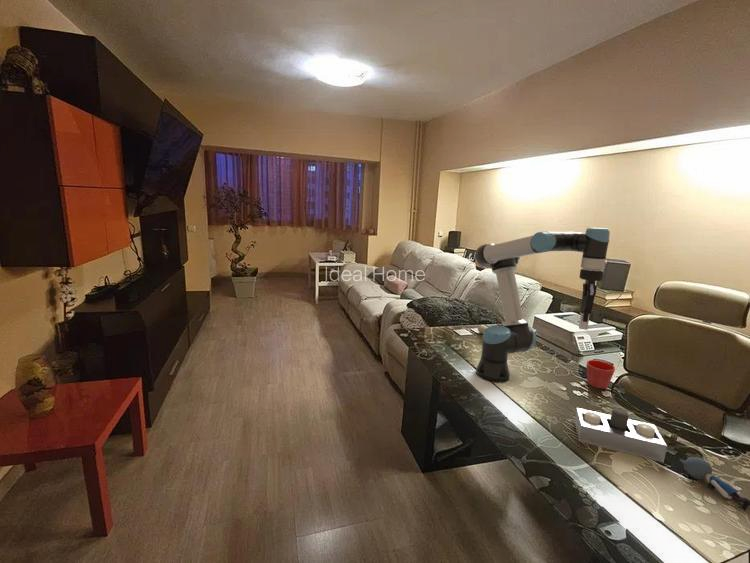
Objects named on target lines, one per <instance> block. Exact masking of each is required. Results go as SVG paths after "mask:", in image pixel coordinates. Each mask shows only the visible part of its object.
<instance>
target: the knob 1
mask: <svg viewBox="0 0 750 563" xmlns="http://www.w3.org/2000/svg"><path fill="white" fill-rule="evenodd" d="M600 420H601V417H600V416H599V415H598V414H596V413H593V412H586V413H585V417H584V422H588V423H592V424H596V425H600Z"/></svg>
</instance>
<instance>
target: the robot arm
mask: <svg viewBox="0 0 750 563" xmlns="http://www.w3.org/2000/svg"><path fill="white" fill-rule="evenodd" d="M610 231H611V230H610V229H609V228H606V227H605V228H604V227H603V228H602V227H588V228H586V231H585V232H578V231H569V230H568V231H567V230H565V231H547V230H546V231H539V232H536V233H534V234H533V235H529V236H525V237H521V238H520V237H519V238H517V239H512V240H509V241H505V242H500V243H486V244H485V243H484V244H482V245H480V246H478V248H477V249H476V250H475V253H474V258H475V259H474V260H475V261H476V263H477V264H478V265H479V266H481V267H484V268H491V271H492V273H493V274H495V277H496V281H497V286H498V290H499V297H500V303H501V306H502V307H501V308H502V312H503V318H504V323H503V324H502V325H491V326H488V327H486V329H485V331H484V333H483V336H482V344H481V345H482V348H481V356H480V359H479V362H478V364H477V366H476V370H475V371H476V372H475V373H476V376H477V377H479V378H480V379H482V380H484V381H486V382H491V383H497V384H498V383H502V384H503V383H506V382H508V381H509V380H510V377H511V376H510V375H511V374H510V373H511V372H510V369H509V365H508V356H509V355H510V354H515V353H521V352H522V353H525V352H527V351H530V350H533V348H534V347H535V345H536V342H537V335H536V331H535V330H534V329H533V328H532V327H531V326H529V322H528V321H527V320H525V319H524V314H523V309H522V305H521V304H522V303H521V300H520V294H519V289H518V284H517V279H516V278H517V277H516V273H515V271H516V270H517V269H518V267H517V265H518V264H519V261H520V259H521V258H520V257H526V256H529V255H535V254H542V253H547V252H548V253H549V252H578V253H582V257H581V263H580V268H581V269H580V270H579V279H581V280H584V281H585V282H583V284H582V295H581V297H582V298H581V305H580V309H581V310H580V311H579V312H580V319H579V325H578V329H580V330H585V331H588V330H589V328H588V327H589V322H590V315H591V314H592V312H593V307H594V301H595V298H596V294H597V285H596V282H601V281H603V279H604V273H605V272H604V270H605V266H606V264H608V261H607V260H606V259H607V253H608V248H609V244H610V234H611V232H610Z"/></svg>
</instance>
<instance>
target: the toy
mask: <svg viewBox="0 0 750 563" xmlns="http://www.w3.org/2000/svg"><path fill="white" fill-rule="evenodd" d="M678 461H679V462H680V463H681V464H683V470H684V471H685V473H686V474H687V475H688V476H690V477H691V478H693V479H695V480H706V481H707V482H706V486H707V488H709V489H711V490H717V491H718V492H719V493H720V495H722V497H724V499H725V498H726V499H727V500H734V501H735V502H738V503H742V506H741V509H742V510H744V511H746V510H747V509H748V508H749V507H750V499H749V498H747V497H742V496H741V495H739V492H740V491H739V490H737V489H736V488H735V487H733V486H732V485H730V484H728V482H725V481H724V480H722V479H720V478H718V477H717V476H715V475H713V468H712V465H711V464H710V462H708V461H707V460H705V459H703V458H701V457H698V456H696V457H695V456H693V457H692V456H691V457H688V458H687V459H685V460H684V459H682V458H680V459H679V460H678Z"/></svg>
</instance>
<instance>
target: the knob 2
mask: <svg viewBox="0 0 750 563" xmlns="http://www.w3.org/2000/svg"><path fill="white" fill-rule="evenodd" d="M636 433H637V434H639V435H644V436H648V437H652V438H654V433H655V429H654V428H653V427H651V426H649V425H647V424H643V423H638V424H637V429H636Z"/></svg>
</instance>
